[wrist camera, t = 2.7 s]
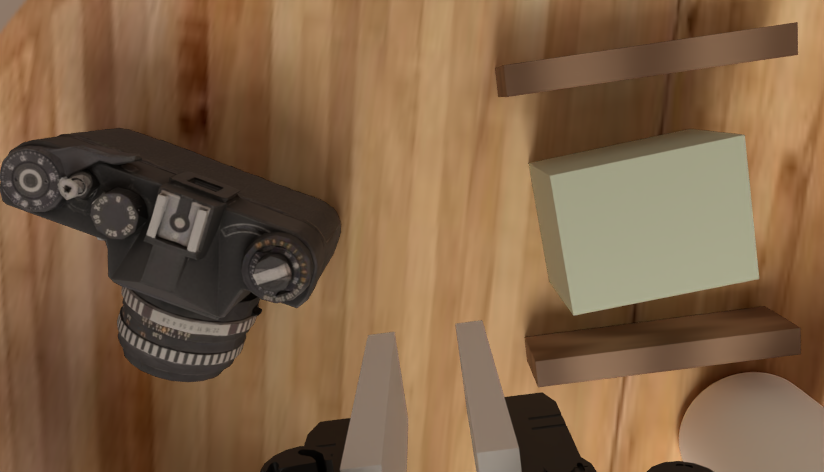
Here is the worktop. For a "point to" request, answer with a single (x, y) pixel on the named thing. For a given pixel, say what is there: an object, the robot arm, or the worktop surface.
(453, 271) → the worktop surface
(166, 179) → the camera
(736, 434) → the beverage can
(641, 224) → the block
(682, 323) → the pair of brown rails
